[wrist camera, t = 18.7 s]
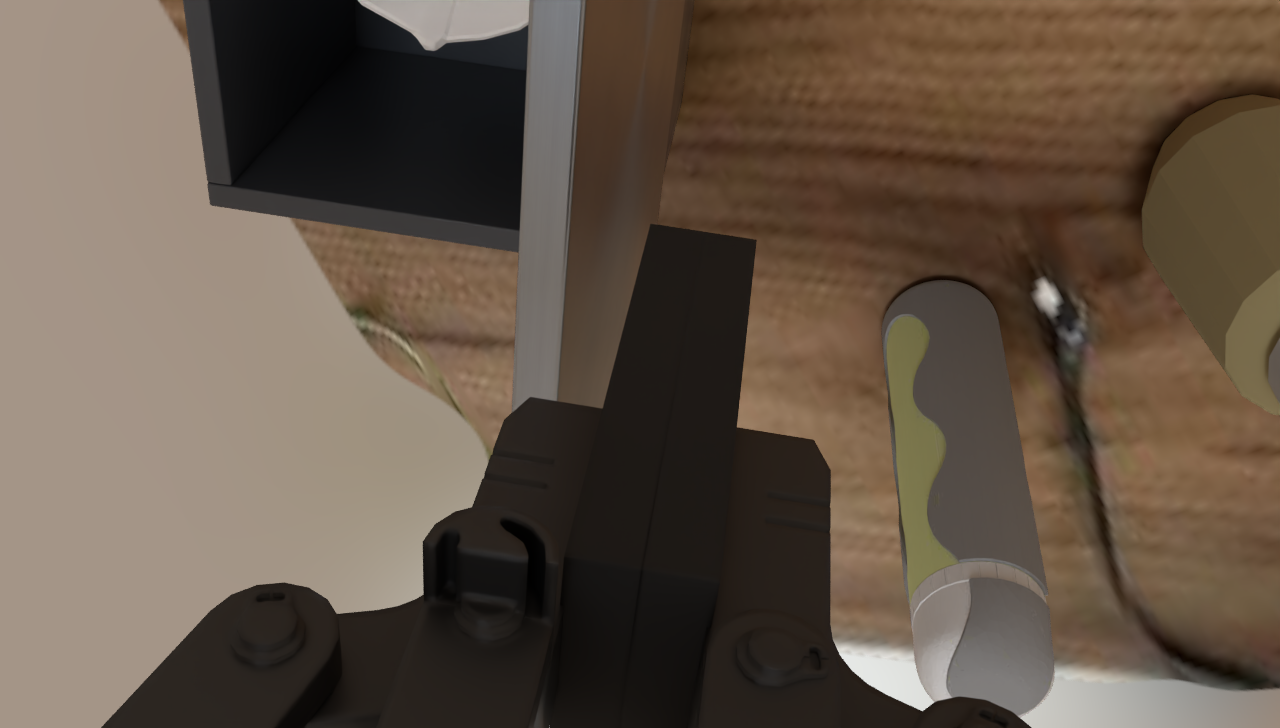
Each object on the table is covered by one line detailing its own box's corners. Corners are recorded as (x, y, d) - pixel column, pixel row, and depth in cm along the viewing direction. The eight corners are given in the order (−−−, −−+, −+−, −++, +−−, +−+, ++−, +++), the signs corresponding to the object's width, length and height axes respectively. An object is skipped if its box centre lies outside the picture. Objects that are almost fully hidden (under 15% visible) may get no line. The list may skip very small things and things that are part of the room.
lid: (500, 645, 24) (539, 653, 24) (552, -579, 12) (626, -570, 12) (624, 277, 36) (650, 281, 36) (711, -529, 24) (749, -525, 24)
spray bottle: (861, 343, 52) (875, 715, 36) (915, 256, 49) (958, 619, 33) (959, 383, 52) (1017, 768, 36) (1019, 300, 49) (1111, 677, 33)
